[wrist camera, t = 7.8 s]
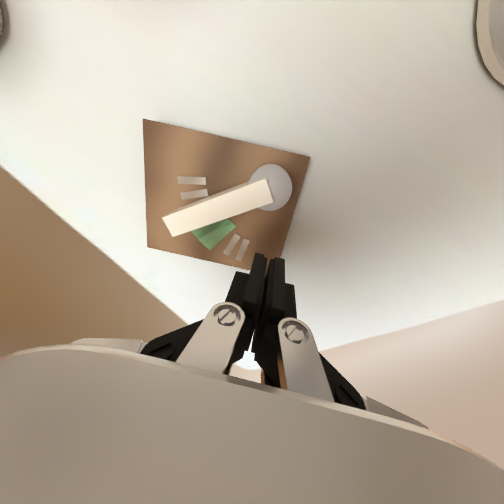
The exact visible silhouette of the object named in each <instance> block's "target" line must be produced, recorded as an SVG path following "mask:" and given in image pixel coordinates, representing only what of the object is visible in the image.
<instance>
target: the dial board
mask: <svg viewBox="0 0 504 504" xmlns="http://www.w3.org/2000/svg"><path fill="white" fill-rule="evenodd" d="M143 138H144V166H145V193H146V221H147V247H149V248H154V249H158V250H162V251H167V252H171V253H176V254H180V255H185V256H189V257H194V258H198V259H202V260H207V261H211V262H216V263H220V264H225V265H229V266H234V267H238V268H242V269H247V270H251V267H252V263H253V259H254V255H255V252H256V253H260V254H264V257H266V258H268V259H267V267H266V272H267V268H268V265H269V261H270V259H274V257H277V258H280V255H281V252H282V249H283V245H284V242H285V239H286V235H287V232H288V229H289V226H290V222H291V219H292V216H293V212H294V209H295V206H296V202H297V199H298V196H299V193H300V189H301V186H302V183H303V179H304V176H305V173H306V170H307V166H308V163H309V160H310V157H308V156H304V155H300V154H295V153H291V152H286V151H282V150H278V149H273V148H269V147H265V146H260V145H256V144H252V143H247V142H243V141H238V140H234V139H230V138H225V137H221V136H217V135H212V134H208V133H204V132H199V131H195V130H190V129H186V128H182V127H177V126H173V125H169V124H164V123H160V122H155V121H151V120H147V119H143ZM269 163H273V164H277V165H279V166H281V167H282V168H283V169H284V170H285V171H286V172H287V174H288V175H289V177H290V179H291V182H292V193H291V196H290V198H289V200H288V202H287V203H286V204H285V205H284V206H283V207H281V208H280V209H277V210H274V211H265V210H262V209H260V208H255V209H253V210H250V211H247V212H244V213H241V214H238V215H235V216H232V217H229V218H227V219H224V220H221V221H218V222H215V223H212V224H209V225H206V226H203V227H201V228H198V229H195V230H192V231H189V232H186V233H183V234H180V235H177V236H174V237H172V235H171V233H170V231H169V230H168V228H167V226H166V224H165V222H164V221H163V219H162V217H164V216H166V215H167V214H169V213H171V212H173V211H174V210H176V209H178V208H180V207H182V206H185V205H188V204H190V203H193V202H196V201H198V200H201V199H203V198H206V197H209V196H211V195H214V194H216V193H219V192H222V191H224V190H227V189H230V188H232V187H235V186H237V185H240V184H243V183H245V182H248V181H249V180H250V178H251V176H252V175H253V173H254V172H255V171H256V170H257V169H258V168H259V167H261V166H262V165H265V164H269Z"/></svg>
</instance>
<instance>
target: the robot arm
mask: <svg viewBox="0 0 504 504" xmlns="http://www.w3.org/2000/svg"><path fill="white" fill-rule="evenodd" d="M476 26H477V37H478V46H479V49H480V52H481V55H482V58H483V61H484V64H485V66H486V67H487V69H488V70H489V71H490V73H491V74H492V76H493V77H494V78H495V79H496V80H497V81H499V82H500V83H501V84H502V85H504V0H478V11H477V22H476ZM267 259H268V258H266V257H264V254H260V253H256V252H255V255H254V259H253V263H252V267H251V271H250V274H246V273H242V272H238V271H236V273H235V276H234V278H233V281H232V284H231V287H230V289H229V292H228V295H227V298H226V300H225V302H222V303H218V304H216V305H214V306H213V307H212V308H211V310H210V311H209V313H208V314H207V316H206V317H205V319H203V320H201V321H198V322H195V323H193V324H190V325H188V326H186V327H183V328H180V329H178V330H176V331H173V332H170V333H168V334H165V335H163V336H160V337H158V338H155V339H153V340H152V341H150V342H149V343H145V342H142V340H141V339H138V340H137V339H106V338H86V339H80V340H77V341H75V342H72V343H70V344H62V345H52V346H42V347H37V348H31V349H27V350H22V351H18V352H15V353H12V354H9V355H6V356H4V357H2V358H0V504H504V470H503V469H501V468H499V467H498V466H497V465H495V464H494V463H492V462H491V461H489V460H488V459H486V458H484V457H483V456H481V455H479V454H478V453H476V452H474V451H473V450H471V449H470V448H468V447H466V446H463V445H462V444H460V443H458V442H456V441H454V440H452V439H450V438H448V437H445V436H443V435H441V434H438V433H436V432H434V431H431V430H430V429H428V427H427V426H425V425H423V424H422V423H420V422H419V421H417V420H415V419H413V418H410V417H408V416H406V415H404V414H402V413H400V412H398V411H396V410H394V409H392V408H390V407H388V406H385V405H383V404H382V403H379V402H377V401H375V400H373V399H371V398H369V397H365V398H362V397H361V396H360V394H359V393H358V392H357V391H356V389H355V388H354V387H353V386H352V385H351V384H350V383H349V382H348V381H347V380H346V379H345V378H344V377H343V376H342V375H341V374H340V373H339V372H338V371H337V370H336V369H335V368H334V367H333V366H332V365H331V364H330V363H329V362H328V361H327V360H326V359H325V358H324V357H323V356H322V355H321V354H320V353H319V352H318V349H317V346H316V343H315V340H314V337H313V334H312V332H311V330H310V328H309V327H308V326H307V325H306V324H305V323H304V322H302V321H300V320H298V319H297V314H296V302H295V291H294V285H292V284H287V283H285V260H284V259H281V258H277V257H274V259H270V261H269V265H268V268H267V272H266V267H267ZM253 332H254V335H253ZM252 336H253V342H252V349H251V352H253V353H255V358H254V361H257V363H258V364H259V365H260V367H261V368H262V369H261V384H260V383H256V382H253V381H248V380H245V379H240V378H237V377H233V376H229V374H230V372H231V369H232V366H233V363H235V362H236V361H238V360H240V359H241V358H243V354H244V351H248V349H249V346H250V342H251V339H252Z"/></svg>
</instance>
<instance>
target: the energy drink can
mask: <svg viewBox="0 0 504 504" xmlns="http://www.w3.org/2000/svg"><path fill="white" fill-rule="evenodd" d="M2 29H3V16H2V10H1V6H0V36H1V33H2Z"/></svg>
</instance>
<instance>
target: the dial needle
mask: <svg viewBox="0 0 504 504" xmlns="http://www.w3.org/2000/svg"><path fill="white" fill-rule="evenodd" d="M291 193H292V182H291V179H290V177H289V175H288V174H287V172H286V171H285V170H284V169H283V168H282V167H281V166H279V165H277V164H273V163H269V164H265V165H262V166H261V167H259V168H258V169H257V170H256V171H255V172H254V173H253V175H252V176H251V178H250V180H249V181H248V182H245V183H243V184H240V185H237V186H235V187H232V188H230V189H227V190H224V191H222V192H219V193H216V194H214V195H211V196H209V197H206V198H203V199H201V200H198V201H196V202H193V203H190V204H188V205H185V206H182V207H180V208H178V209H176V210H174V211H173V212H171V213H169V214H167V215H166V216H164V217H162V219H163V221H164V222H165V224H166V226H167V228H168V230H169V231H170V233H171V235H172V237H174V236H177V235H180V234H183V233H186V232H189V231H192V230H195V229H198V228H201V227H203V226H206V225H209V224H212V223H215V222H218V221H221V220H224V219H227V218H229V217H232V216H235V215H238V214H241V213H244V212H247V211H250V210H253V209H255V208H260V209H262V210H265V211H274V210H277V209H280V208H281V207H283V206H284V205H285V204H286V203H287V202H288V200H289V198H290V196H291Z"/></svg>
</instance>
